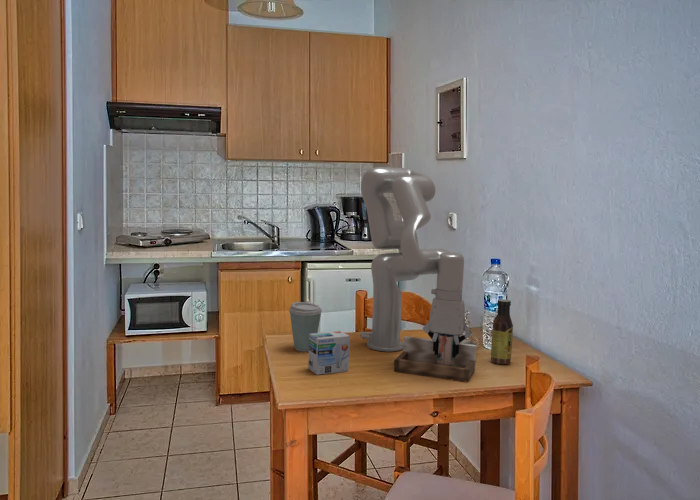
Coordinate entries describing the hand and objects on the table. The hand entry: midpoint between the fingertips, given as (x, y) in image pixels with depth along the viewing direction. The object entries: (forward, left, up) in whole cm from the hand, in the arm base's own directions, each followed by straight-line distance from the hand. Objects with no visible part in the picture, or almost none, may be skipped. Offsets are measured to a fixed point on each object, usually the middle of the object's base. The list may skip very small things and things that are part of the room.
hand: (445, 354), depth 188 cm
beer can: (0, 0, -3) cm, 3 cm away
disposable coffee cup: (-47, +2, -5) cm, 47 cm away
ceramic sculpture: (0, +17, -6) cm, 18 cm away
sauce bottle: (+14, +17, -5) cm, 23 cm away
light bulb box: (-32, -14, -6) cm, 35 cm away
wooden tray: (-3, -1, -5) cm, 6 cm away
